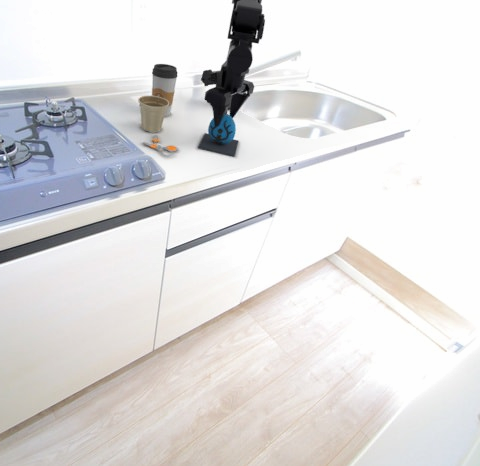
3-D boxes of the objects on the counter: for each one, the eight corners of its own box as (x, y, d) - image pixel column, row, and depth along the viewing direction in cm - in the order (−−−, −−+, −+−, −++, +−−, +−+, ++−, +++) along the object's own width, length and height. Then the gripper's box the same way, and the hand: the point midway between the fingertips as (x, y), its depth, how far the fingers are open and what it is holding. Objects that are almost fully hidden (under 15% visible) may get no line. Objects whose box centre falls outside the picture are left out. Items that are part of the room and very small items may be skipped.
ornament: (203, 142, 100) (210, 109, 93) (208, 136, 103) (214, 104, 97) (229, 149, 98) (237, 116, 91) (233, 144, 101) (241, 112, 95)
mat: (204, 134, 105) (204, 133, 105) (238, 142, 104) (238, 140, 104) (197, 148, 97) (198, 146, 97) (234, 156, 96) (234, 155, 95)
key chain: (183, 153, 93) (183, 150, 93) (163, 158, 89) (163, 155, 89) (156, 135, 100) (157, 132, 100) (136, 139, 96) (137, 137, 96)
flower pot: (172, 130, 105) (175, 103, 99) (151, 137, 99) (153, 109, 93) (151, 120, 109) (154, 93, 103) (130, 126, 103) (131, 98, 98)
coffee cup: (145, 114, 112) (148, 66, 103) (155, 107, 119) (158, 61, 109) (167, 120, 111) (172, 72, 101) (176, 112, 117) (182, 67, 107)
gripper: (226, 52, 95) (215, 106, 105) (192, 60, 83) (183, 120, 93) (261, 61, 91) (246, 117, 101) (231, 72, 78) (217, 134, 88)
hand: (224, 121), depth 96 cm, fingers open, 9 cm apart
